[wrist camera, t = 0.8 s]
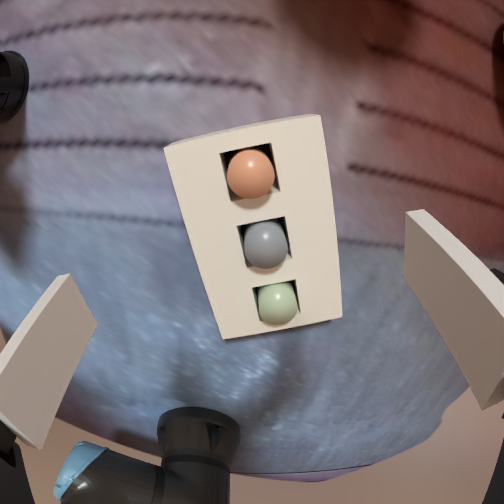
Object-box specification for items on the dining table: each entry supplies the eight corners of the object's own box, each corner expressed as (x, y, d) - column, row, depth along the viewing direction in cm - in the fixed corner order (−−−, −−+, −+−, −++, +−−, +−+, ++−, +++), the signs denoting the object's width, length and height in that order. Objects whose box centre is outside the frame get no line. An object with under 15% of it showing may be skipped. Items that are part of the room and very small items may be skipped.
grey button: (285, 246, 34) (290, 264, 30) (248, 253, 34) (249, 272, 30) (279, 211, 32) (284, 225, 28) (240, 218, 32) (240, 234, 29)
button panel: (334, 297, 39) (342, 316, 35) (224, 318, 40) (222, 339, 36) (310, 113, 29) (320, 115, 26) (172, 142, 30) (163, 148, 26)
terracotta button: (274, 182, 31) (278, 193, 27) (233, 190, 31) (232, 203, 27) (266, 143, 29) (269, 148, 25) (224, 151, 29) (222, 158, 26)
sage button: (294, 299, 37) (299, 320, 33) (261, 305, 37) (262, 327, 34) (290, 270, 35) (295, 290, 32) (254, 277, 35) (255, 297, 32)
